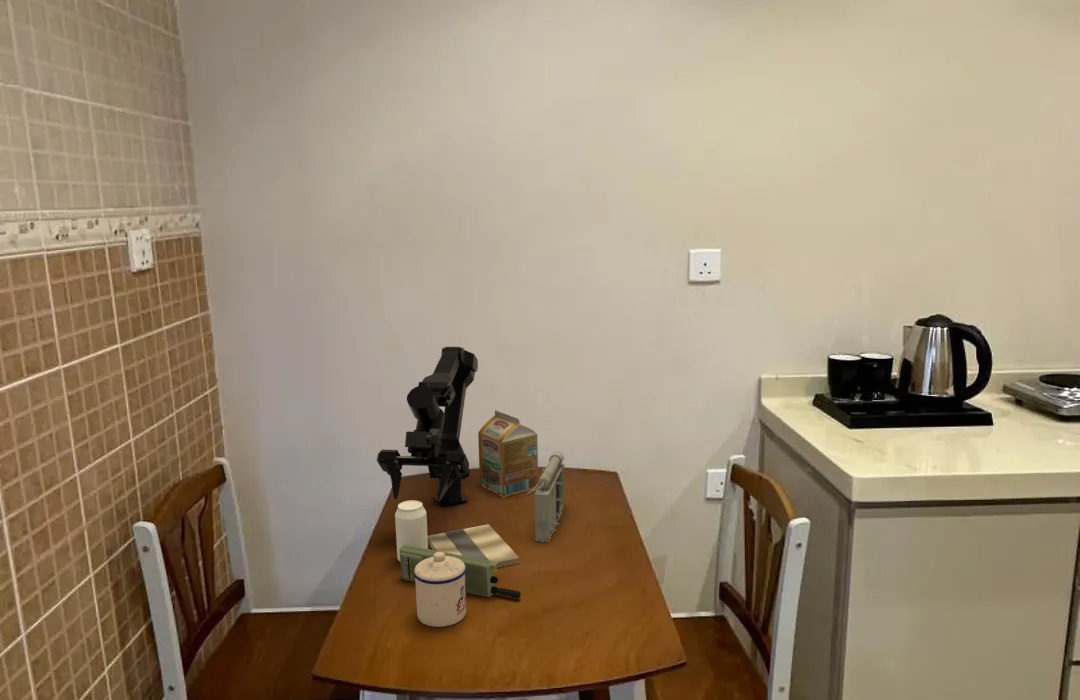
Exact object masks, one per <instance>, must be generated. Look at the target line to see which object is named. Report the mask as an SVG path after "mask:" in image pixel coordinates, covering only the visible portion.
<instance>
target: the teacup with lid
mask: <svg viewBox="0 0 1080 700" xmlns="http://www.w3.org/2000/svg"><path fill="white" fill-rule="evenodd" d="M465 572H466V567H465V564H464V563H463V562H462V561H461V560H460V559H458V558H455V557H451V556H445V554H444V553H443V552H436V553H435V554H434V556H433V557H430V558H427V559H425V560H423V561H421V562H419V563H418V564H417V565H416V567H415V569H414V576H415V581H416V582H415V596H416V597H415V598H416V600H415V601H416V613H417V614H416V616H417V619H418V621H419V622H421V624H423V625H426V626H429V627H434V628H435V627H436V628H443V627H448V626H452V625H455V624H457V623H459V622H460V621H462V620H463V619H464V618H465V616H466V614H467V595H466V594H467V593H466V590H465Z"/></svg>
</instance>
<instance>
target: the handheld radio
mask: <svg viewBox="0 0 1080 700" xmlns="http://www.w3.org/2000/svg"><path fill="white" fill-rule="evenodd" d="M399 551H400V561H399V562H400V572H401V573H400V574H401V579H402V580H403V579H404V581H408V580H409V582H413V583H416V581H415V576H414V569H415V567H416V565H417V564H418V563H419V562H421V561H423V560H425V559H427V558H430V557H433V556H434V554H435V553H436V552H440V551H435V550H433V549H430V548H428V549H424V548H419V547H413V546H408V545H403V546H402V547H401V548H400V549H399ZM443 553H444V554H445V556H451V557H455V558H458V559H460V560H461V561H462V562H463V563H464V564H465V567H466V572H465V590H466V594H471V595H477V596H482V597H486V598H491V597H492V596H493V595H496V594H498V595H500V596H505V597H511V598H514V599H517V600H518V599H520V598H521V594H522V592H521V591H519V590H514V589H509V588H504V587H498V586H495V584H498V583H499V577H497V576H495V574H496V573H497V572H498V568H494V567H493V566H495V565H496V564H497V562H494V561H489V560H484V559H478V558H473V557H467V556H462V555H457V554H451V553H446V552H443Z"/></svg>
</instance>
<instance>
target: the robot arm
mask: <svg viewBox="0 0 1080 700" xmlns="http://www.w3.org/2000/svg"><path fill="white" fill-rule="evenodd" d="M478 362H479V361H478V358H477V356H476V355H475V353H472V352H470V351H468V350H465V348H464V347H461V346H444V347H442V348H441V356H440V358H439V360H438V361H437V364H436V366H435V368H434V370H433V373H432V374H430V375H427V376H425V377H424V378H423V379H422V381H419V382H418V384H417V386H415V387H414V388H412V389H411V390H410V391H409V392H408V393H407V395H406V402H407V404H408V406H409V409H410V411H411V412H412V415H413V417H414V418H415V419H416V426H415V429H413V431H411V430H410V431H406V432H405V441H404V447H405V448H407V449H406V450H407V453H408V454H410V455H401V454H400V452H399V450H398V449H381V450H380V451H379V452H378V453H377V457H376V462H377V464H378V465H379V466H380V469H381V470H382V471H383V472H385V473H386V474H387V475H388V476H389V477H390V481H391V482H390V483H391V488H392V494H393V498H394V500H397V499H398V497H399V493H400V488H401V481H402V477H403V473H402V469H403V466H413V467H414V466H415V467H416V466H418V467H427V468H428V474H429V479H437V494H434V496H433V498H434V500H435V501H436V502H437V503H438V504H439V505H440V506H441V507H446V506H452V505H457V504H461V502H463V503H467V502H468V499H467V498H466V497H465V496H464V495H463V486H462V485H463V484H462V480H465V479H466V478H468V477H470V462H469V460H468V457H467V455H466V453H465V451H464V448H463V447H462V443H460V437H461V429H462V424H463V423H462V422H463V416H464V415H463V414H464V407H465V401H466V393H467V392H466V391H467V389H468V387H469V386H470V385H471V384H472V383H474V381H475V375H476V373H477V372H478V369H479V367H478V365H479V363H478ZM440 407H444V411H443V410H442V409H441V408H440ZM466 501H467V502H466ZM456 503H457V504H456Z"/></svg>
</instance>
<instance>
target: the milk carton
mask: <svg viewBox="0 0 1080 700" xmlns="http://www.w3.org/2000/svg"><path fill="white" fill-rule="evenodd" d="M477 436H478V438H477V439H478V464H479V465H478V468H479V469H478V470H479V485H480V484H481V485H484V486H485V487H487V488H489V489H491V490H493V491H495V492H497V493H498V494H501V495H503V496H505V495H509V494H512V493H515V492H519V491H522V490H526V489H529V488H532V487H535V486H536V485H537V484H538V481H539V456H538V455H539V451H538V450H539V449H538V448H539V446H538V443H539V442H538V433H537V432H536V431H534V430H533V429H532V428H530V427H527V426H525V425H523V424H521V419H520V418H519V417H517V416H515V415H511V414H509V413H506V412H503V411H500V410H497V409H495V410H494V415H493V416H492V417H491V418H490V419H489V420H487V421H486V423H484V425H483V426H481V428H480V429H479V431H478V435H477Z"/></svg>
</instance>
